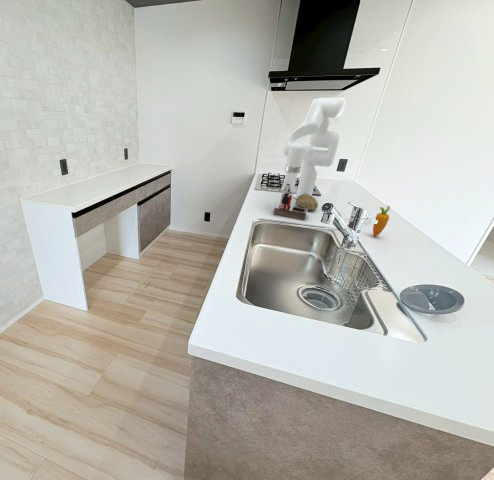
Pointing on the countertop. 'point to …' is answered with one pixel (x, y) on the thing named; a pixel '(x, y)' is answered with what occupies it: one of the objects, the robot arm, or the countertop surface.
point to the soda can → (286, 206)
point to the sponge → (307, 202)
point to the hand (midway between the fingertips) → (285, 202)
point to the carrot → (381, 221)
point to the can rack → (291, 212)
